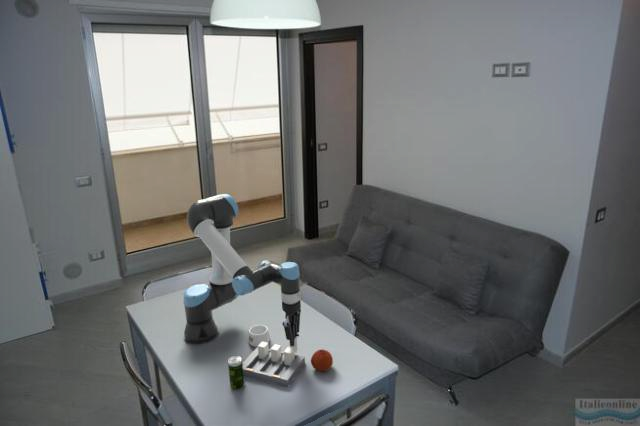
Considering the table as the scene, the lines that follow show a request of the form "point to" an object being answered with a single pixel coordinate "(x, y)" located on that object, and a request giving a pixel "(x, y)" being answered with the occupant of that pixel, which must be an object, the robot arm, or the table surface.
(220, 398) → the table surface
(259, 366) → the switch board
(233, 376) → the beer can
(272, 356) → the white cuboid
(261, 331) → the mug
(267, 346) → the white rectangular block
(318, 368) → the fruit
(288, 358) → the tab
